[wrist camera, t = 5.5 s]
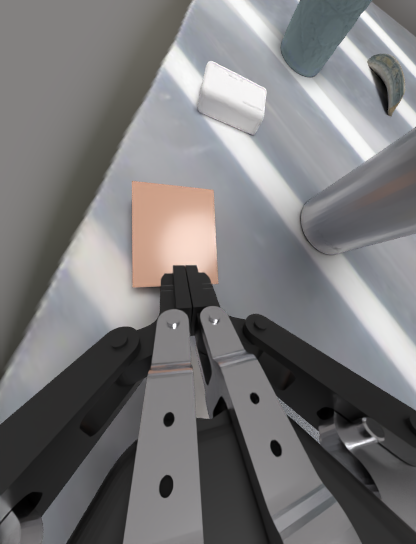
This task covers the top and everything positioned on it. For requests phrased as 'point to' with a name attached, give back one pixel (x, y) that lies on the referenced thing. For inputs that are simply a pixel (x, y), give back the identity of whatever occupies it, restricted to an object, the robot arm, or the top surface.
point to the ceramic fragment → (389, 77)
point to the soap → (232, 98)
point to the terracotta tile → (171, 231)
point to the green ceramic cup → (318, 32)
